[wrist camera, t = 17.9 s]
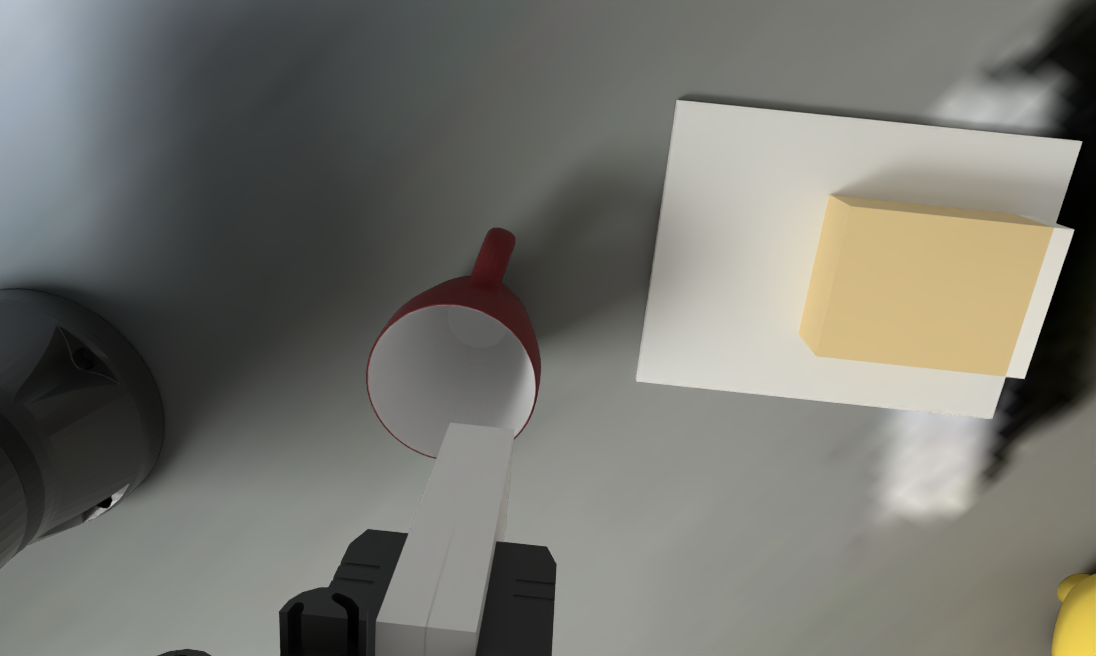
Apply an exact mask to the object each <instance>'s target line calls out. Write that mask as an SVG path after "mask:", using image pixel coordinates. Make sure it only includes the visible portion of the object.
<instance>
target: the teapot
mask: <svg viewBox="0 0 1096 656" xmlns="http://www.w3.org/2000/svg"><path fill="white" fill-rule="evenodd" d="M1057 597H1058V599H1059V600H1060V601H1061V602H1062V603H1063V604H1062V606H1061V608H1060V611H1059V614H1058V617H1057V620H1056V624H1055V629H1054V633H1053V640H1052V653H1051V656H1096V574H1093V575H1089V574H1083V573H1080V574H1074V575H1071V576H1069V577H1067V578H1065V579H1064V580H1063V581H1062V582H1061V583H1060V585H1059V586H1058V589H1057Z"/></svg>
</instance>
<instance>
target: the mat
mask: <svg viewBox="0 0 1096 656" xmlns="http://www.w3.org/2000/svg"><path fill="white" fill-rule="evenodd" d="M1081 144H1082V141H1076V140H1067V139H1057V138H1047V137H1037V136H1027V135H1018V134H1008V133H998V132H988V131H978V130H968V129H959V128H949V127H939V126H929V125H919V124H910V123H900V122H890V121H880V120H870V119H861V118H851V117H841V116H831V115H821V114H812V113H802V112H792V111H782V110H772V109H763V108H753V107H743V106H733V105H723V104H713V103H704V102H694V101H684V100H676V107H675V114H674V121H673V128H672V135H671V141H670V148H669V155H668V162H667V169H666V176H665V182H664V189H663V196H662V203H661V210H660V216H659V223H658V230H657V237H656V244H655V251H654V257H653V264H652V271H651V278H650V285H649V292H648V298H647V305H646V312H645V319H644V326H643V332H642V339H641V346H640V353H639V360H638V367H637V373H636V381H638V382H647V383H656V384H666V385H675V386H685V387H694V388H704V389H713V390H722V391H732V392H741V393H751V394H760V395H770V396H779V397H788V398H798V399H807V400H817V401H826V402H836V403H845V404H854V405H864V406H873V407H883V408H892V409H902V410H911V411H920V412H930V413H939V414H949V415H958V416H968V417H977V418H986V419H992V418H993V415H994V412H995V409H996V406H997V402H998V399H999V396H1000V393H1001V390H1002V387H1003V384H1004V381H1005V378H1006V377H1004V376H994V375H985V374H976V373H966V372H957V371H948V370H938V369H929V368H920V367H910V366H901V365H892V364H882V363H873V362H864V361H855V360H845V359H836V358H827V357H817V356H815V354H814V353H813V352H812V351H811V349H810V348H809V347H808V346H807V344H806V343H805V342H804V341H803V339H802V338H801V337H800V335H799V334H798V333H799V329H800V324H801V320H802V315H803V311H804V306H805V302H806V297H807V293H808V288H809V284H810V279H811V275H812V270H813V266H814V261H815V257H816V252H817V248H818V243H819V239H820V234H821V230H822V225H823V221H824V216H825V212H826V207H827V203H828V198H829V195H837V196H847V197H857V198H866V199H876V200H885V201H895V202H904V203H914V204H923V205H933V206H942V207H952V208H961V209H971V210H980V211H990V212H999V213H1009V214H1018V215H1028V216H1035V217H1038V218H1041V219H1044V220H1047V221H1050V222H1053V223H1056V221H1057V218H1058V215H1059V212H1060V209H1061V206H1062V203H1063V200H1064V196H1065V193H1066V190H1067V187H1068V184H1069V181H1070V178H1071V175H1072V172H1073V169H1074V166H1075V163H1076V160H1077V157H1078V153H1079V150H1080V147H1081Z"/></svg>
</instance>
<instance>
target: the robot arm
mask: <svg viewBox="0 0 1096 656" xmlns="http://www.w3.org/2000/svg"><path fill="white" fill-rule="evenodd" d="M514 431H515V429H506V428H496V427H487V426H478V425H468V424H459V423H450V424H449V427H448V429H447V432H446V435H445V437H444V440H443V443H442V445H441V448H440V451H439V453H438V456H437V459H436V461H435V464H434V467H433V469H432V472H431V475H430V478H429V480H428V483H427V486H426V488H425V491H424V494H423V496H422V499H421V502H420V504H419V507H418V510H417V512H416V515H415V518H414V520H413V523H412V526H411V528H410V531H409V533H400V532H390V531H381V530H372V529H367V530H366V531H365V532H364V533H363V534H361V535H360V536H359V537H358V538H356V539H355V540H354V541H353V542H351V543H350V544H349V546H348V548H347V550H346V553H345V555H344V557H343V559H342V561H341V565H340V566H339V567H338V569H337V571H336V573H335V575H334V578H333V581H331V583H330V585H329V587H322V588H316V589H313V590H309V591H305V592H302V593H301V594H299V595H297V596H295V597H294V598H292V599H290V600H289V601H288V602H287V603H286V604H285V605H284V606H283V608H282V609H281V610H280V611H279V621H280V656H552V637H553V619H554V600H555V583H556V565H557V564H556V563H555V561H554V559H553V557H552V555H551V553H550V552H549V550H548V548H547V547H545V546H536V545H527V544H518V543H508V542H504V536H505V530H506V519H507V508H508V497H509V486H510V475H511V464H512V453H513V442H514ZM163 433H164V419H163V410H162V405H161V400H160V397H159V393H158V390H157V388H156V385H155V383H154V380H153V378H152V376H151V374H150V372H149V370H148V369H147V367H146V365H145V364H144V362H143V360H142V359H141V358H140V356H139V355H138V353H137V352H136V351H135V350H134V348H133V347H132V346H131V345H130V344H129V343H128V341H127V340H126V339H125V338H124V337H123V336H122V335H121V334H120V333H119V332H118V331H117V330H115V329H114V328H113V327H112V326H111V325H109V324H108V323H107V322H105V321H104V320H103V319H102V318H100V317H99V316H97V315H95V314H94V313H92V312H91V311H89V310H87V309H85V308H84V307H82V306H80V305H78V304H76V303H73V302H71V301H69V300H66V299H64V298H61V297H58V296H55V295H51V294H48V293H43V292H38V291H31V290H20V289H9V290H0V568H1V567H2V566H4V565H5V564H6V563H7V562H8V561H9V560H10V559H11V558H13V557H14V556H15V555H16V554H17V553H18V552H20V551H21V550H22V549H23V548H25V547H26V546H27V545H30V544H32V543H35V542H37V541H40V540H42V539H45V538H47V537H50V536H52V535H55V534H57V533H60V532H62V531H64V530H67V529H69V528H72V527H75V526H77V525H80V524H82V523H84V522H87V521H90V520H92V519H94V518H96V517H99V516H101V515H102V514H104V513H106V512H108V511H109V510H111V509H112V508H114V507H115V506H116V505H118V504H119V503H120V502H121V501H122V500H124V499H125V498H126V497H127V496H128V495H129V494H130V493H131V492H132V491H133V490H134V489H135V488H136V487H137V486H138V485H139V484H140V483H141V482H142V481H143V480H144V479H145V478H146V477H147V476H148V474H149V473H150V471H151V470H152V468H153V466H154V465H155V463H156V460H157V458H158V456H159V453H160V450H161V446H162V441H163ZM158 656H211V655H209V654H207V653H206V652H204V651H198V650H191V649H183V650H176V651H169V652H166V653H163V654H161V655H158Z"/></svg>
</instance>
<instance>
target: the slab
mask: <svg viewBox="0 0 1096 656" xmlns="http://www.w3.org/2000/svg"><path fill="white" fill-rule="evenodd" d="M1073 233H1074V229H1071V228H1068V227H1065V226H1062V225H1059V224H1056V223H1053V222H1050V221H1047V220H1044V219H1041V218H1038V217H1035V216H1028V215H1018V214H1009V213H999V212H990V211H980V210H971V209H961V208H952V207H942V206H933V205H923V204H914V203H904V202H895V201H885V200H876V199H866V198H857V197H847V196H837V195H829V198H828V203H827V207H826V212H825V216H824V221H823V225H822V230H821V234H820V239H819V243H818V248H817V252H816V257H815V261H814V266H813V270H812V275H811V279H810V284H809V288H808V293H807V297H806V302H805V306H804V311H803V315H802V320H801V324H800V329H799V333H798V334H799V335H800V337H801V338H802V339H803V341H804V342H805V343H806V344H807V346H808V347H809V348H810V349H811V351H812V352H813V353H814V354H815V356H817V357H827V358H836V359H845V360H855V361H864V362H873V363H882V364H892V365H901V366H910V367H920V368H929V369H938V370H948V371H957V372H966V373H976V374H985V375H994V376H1004V377H1013V378H1022V379H1024V378H1025V375H1026V372H1027V369H1028V366H1029V363H1030V360H1031V357H1032V354H1033V351H1034V348H1035V346H1036V343H1037V340H1038V337H1039V334H1040V331H1041V328H1042V325H1043V322H1044V319H1045V316H1046V313H1047V310H1048V307H1049V304H1050V301H1051V298H1052V295H1053V292H1054V289H1055V286H1056V283H1057V280H1058V277H1059V274H1060V271H1061V268H1062V265H1063V262H1064V259H1065V256H1066V253H1067V250H1068V248H1069V245H1070V242H1071V239H1072V236H1073Z"/></svg>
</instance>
